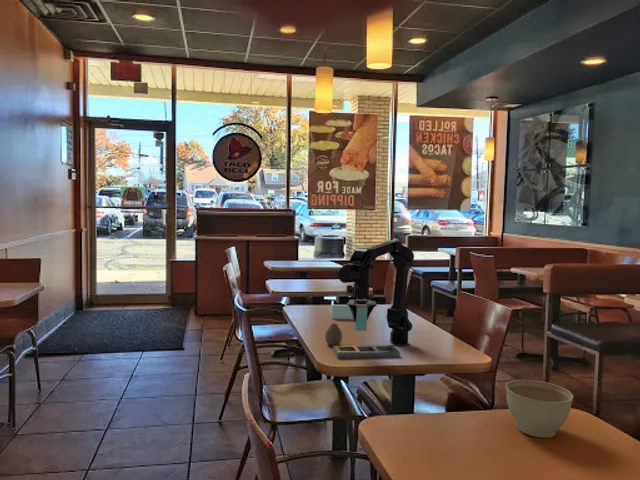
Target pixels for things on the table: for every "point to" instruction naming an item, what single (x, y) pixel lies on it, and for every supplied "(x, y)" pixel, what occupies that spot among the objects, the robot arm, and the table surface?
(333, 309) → the l-shaped corner panel
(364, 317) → the peg
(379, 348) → the grey slotted tray
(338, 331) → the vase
